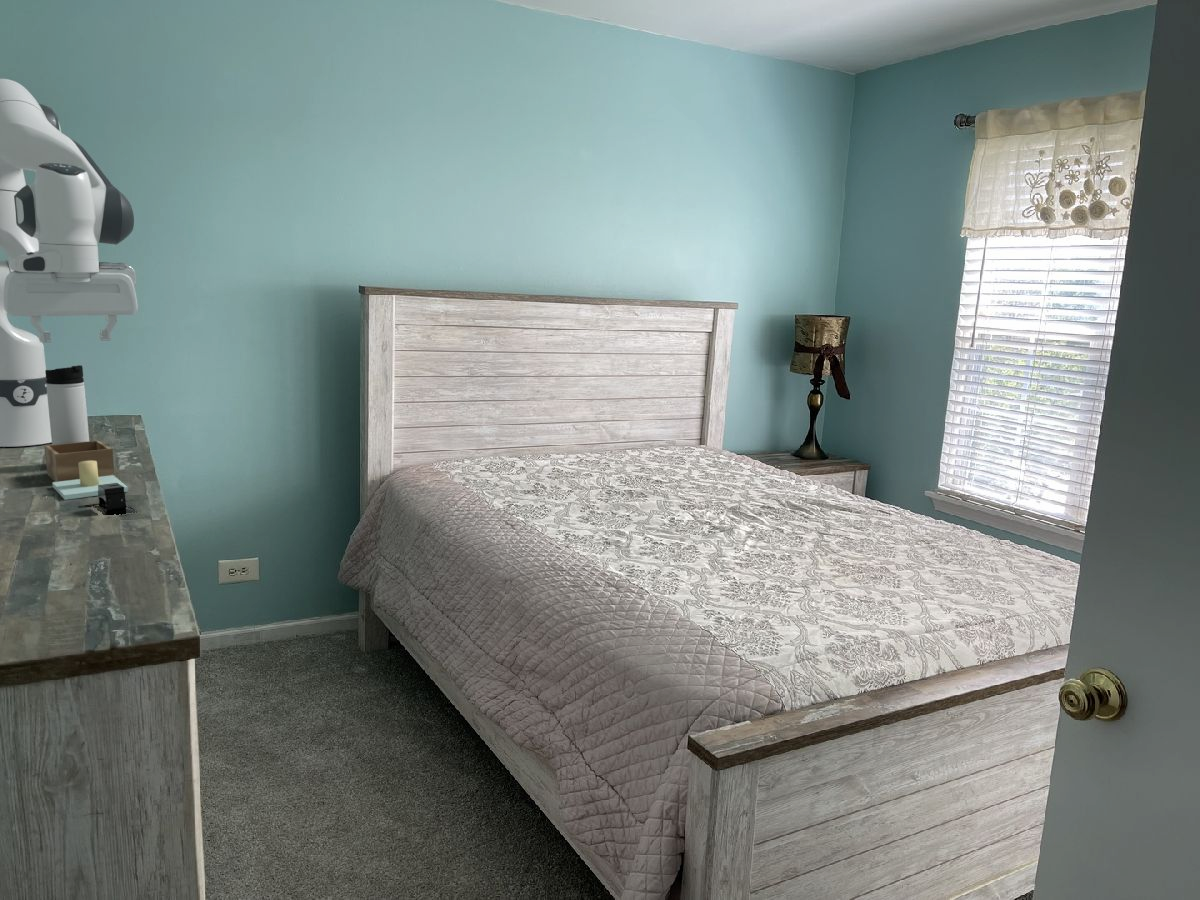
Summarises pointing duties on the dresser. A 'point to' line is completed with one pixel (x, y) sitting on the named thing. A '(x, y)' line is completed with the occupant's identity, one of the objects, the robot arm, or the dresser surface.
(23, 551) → the dresser surface
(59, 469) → the box
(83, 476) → the lid
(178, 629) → the dresser surface
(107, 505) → the black stepped block
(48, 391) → the travel mug
